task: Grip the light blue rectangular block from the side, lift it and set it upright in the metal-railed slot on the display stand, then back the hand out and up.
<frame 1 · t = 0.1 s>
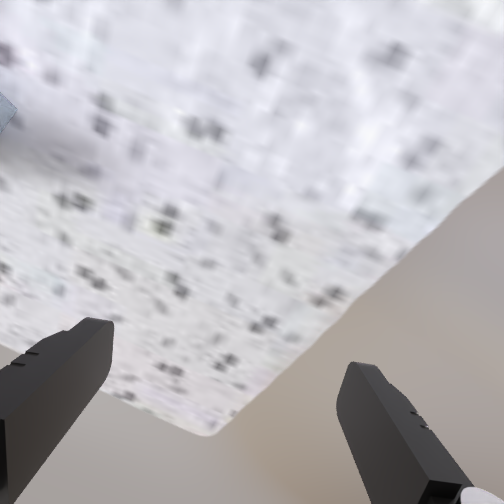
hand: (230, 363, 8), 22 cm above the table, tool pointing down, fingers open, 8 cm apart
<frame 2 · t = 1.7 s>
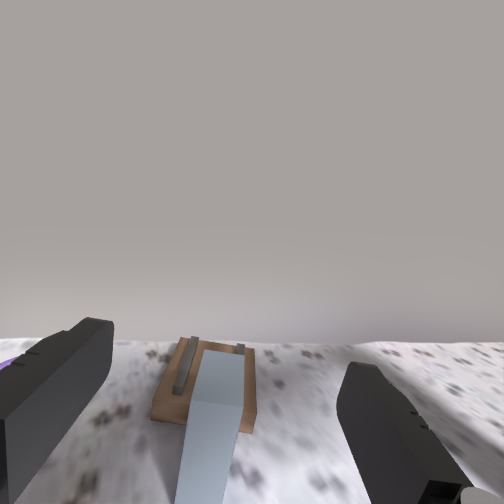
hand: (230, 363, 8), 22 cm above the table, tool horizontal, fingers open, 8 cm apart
display stand: (209, 387, 35), on the table
light blue rectangular block: (202, 475, 25), on the table
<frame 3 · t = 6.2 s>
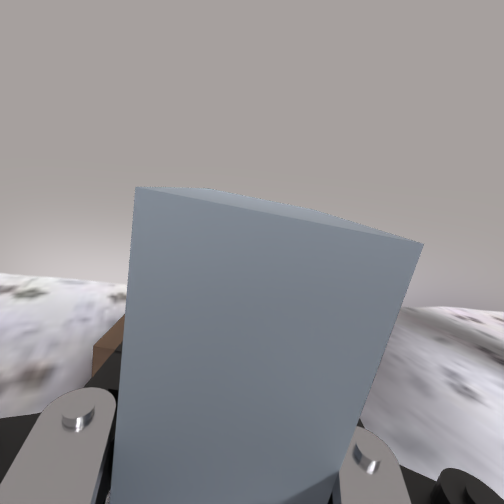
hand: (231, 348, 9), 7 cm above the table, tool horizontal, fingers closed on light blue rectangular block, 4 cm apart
display stand: (214, 344, 20), on the table
when the fingers open (11 cm above the table, at t = 11.2 s): light blue rectangular block drops 2 cm, resting on display stand.
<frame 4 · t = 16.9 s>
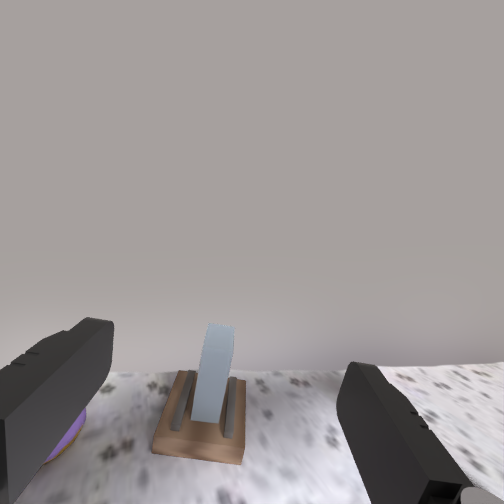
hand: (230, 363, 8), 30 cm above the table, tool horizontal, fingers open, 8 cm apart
donut: (42, 437, 33), on the table
display stand: (204, 419, 39), on the table
light blue rectangular block: (207, 404, 38), point 3 cm above the table, touching display stand
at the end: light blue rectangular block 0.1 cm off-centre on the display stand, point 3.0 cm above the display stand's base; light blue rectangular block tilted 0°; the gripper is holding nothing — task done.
